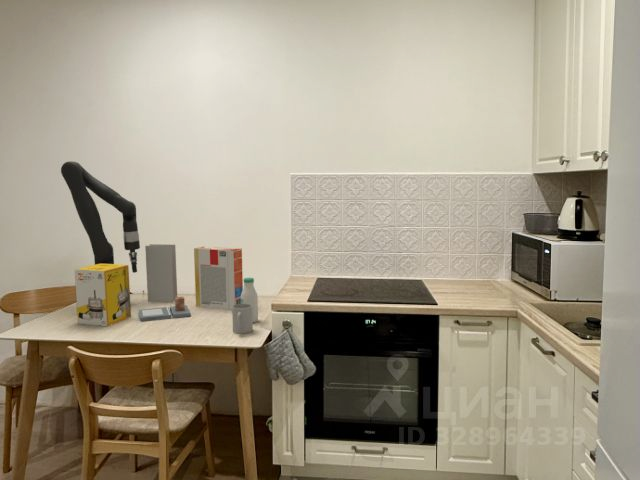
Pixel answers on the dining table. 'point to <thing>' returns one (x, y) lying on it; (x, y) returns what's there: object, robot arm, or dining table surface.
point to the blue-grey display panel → (154, 314)
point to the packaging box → (102, 294)
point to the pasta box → (218, 277)
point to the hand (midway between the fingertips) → (134, 270)
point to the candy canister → (250, 297)
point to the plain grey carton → (161, 273)
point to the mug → (242, 318)
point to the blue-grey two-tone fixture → (180, 308)
